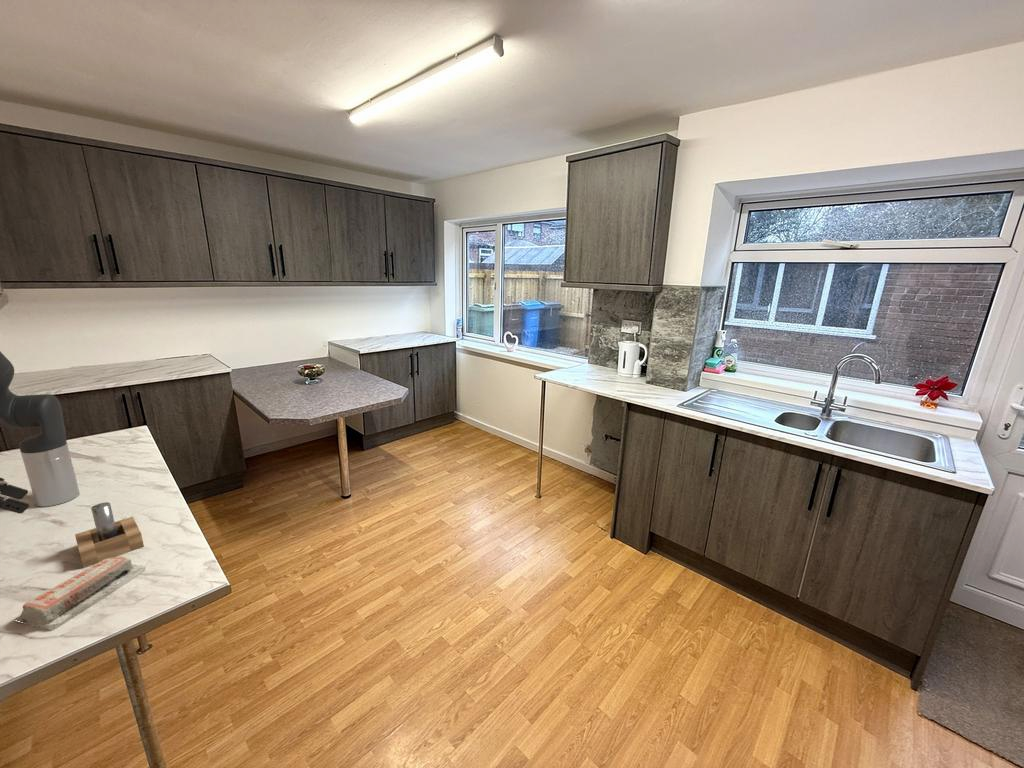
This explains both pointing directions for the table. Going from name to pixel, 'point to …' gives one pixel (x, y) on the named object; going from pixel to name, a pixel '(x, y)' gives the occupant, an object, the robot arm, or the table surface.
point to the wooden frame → (109, 542)
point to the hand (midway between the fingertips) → (25, 501)
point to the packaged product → (79, 593)
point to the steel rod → (104, 521)
